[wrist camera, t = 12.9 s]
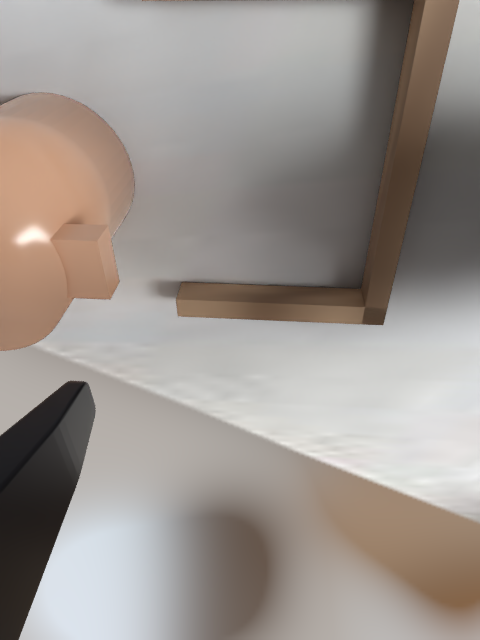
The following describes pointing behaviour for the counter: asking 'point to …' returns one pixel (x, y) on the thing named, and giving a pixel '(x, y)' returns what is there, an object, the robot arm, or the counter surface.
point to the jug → (56, 211)
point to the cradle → (391, 209)
